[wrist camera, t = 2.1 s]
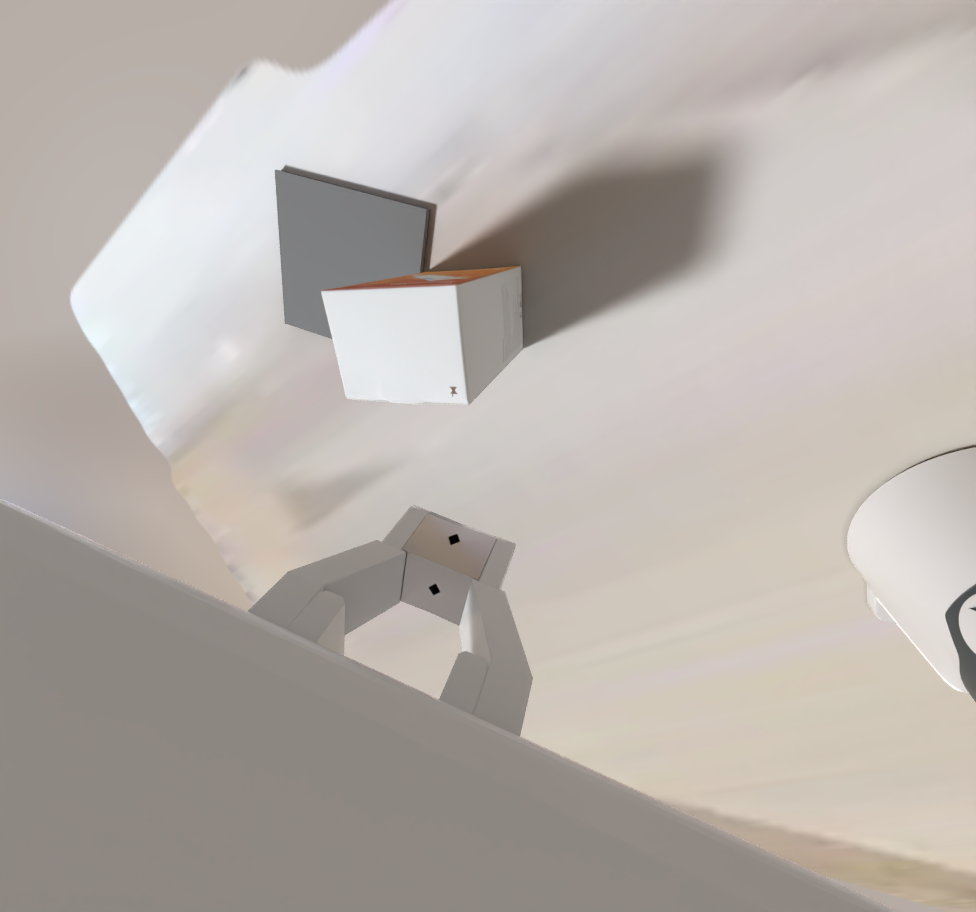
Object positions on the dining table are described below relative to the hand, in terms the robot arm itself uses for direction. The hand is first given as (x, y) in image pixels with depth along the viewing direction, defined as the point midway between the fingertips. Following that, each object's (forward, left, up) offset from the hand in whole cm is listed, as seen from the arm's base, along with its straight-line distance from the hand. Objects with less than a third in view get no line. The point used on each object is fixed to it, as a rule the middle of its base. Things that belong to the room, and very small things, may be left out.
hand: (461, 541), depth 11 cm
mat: (+19, 0, -24) cm, 31 cm away
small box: (+8, 0, -24) cm, 26 cm away
